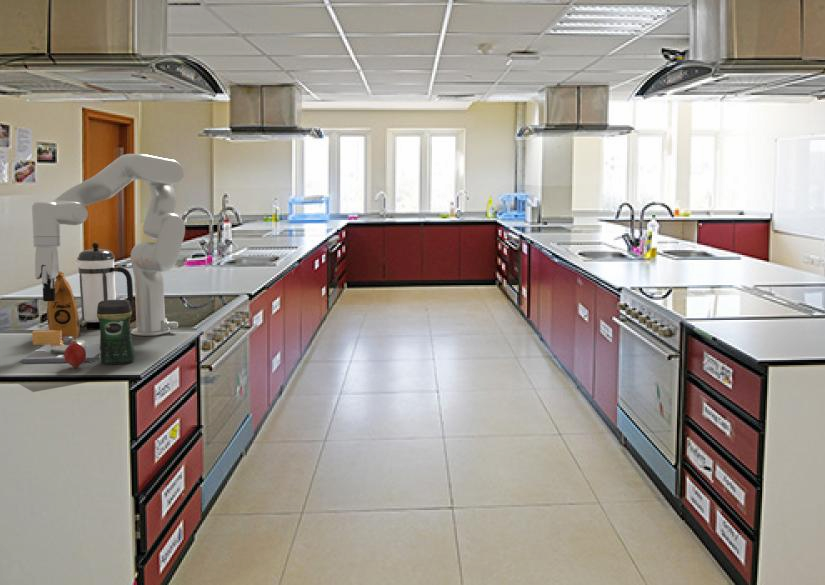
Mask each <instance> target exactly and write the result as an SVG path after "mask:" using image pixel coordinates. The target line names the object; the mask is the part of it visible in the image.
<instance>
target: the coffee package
mask: <svg viewBox="0 0 825 585" xmlns="http://www.w3.org/2000/svg"><path fill="white" fill-rule="evenodd" d="M46 319H47V326H48V330H62V339H63V337H65V336H73V338H75V339H78V337H79V334H80V332H81V330H80V325H79V322H80V319H79V312H78V306H77V302H76V299H75V296H74V294H73V291H72V287H71V285H70V282H69V281H68V280H67V279H66V278H65V273H64V272H62V271H60V270H59V274H58V276H57V277H55V301H47V306H46Z"/></svg>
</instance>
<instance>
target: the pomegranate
mask: <svg viewBox="0 0 825 585" xmlns="http://www.w3.org/2000/svg"><path fill="white" fill-rule="evenodd" d="M64 358H65V360H66V362H65V363H67V364H69V365H70V366H72V367H73V368H76V369H77V368H78V367H79V366H81V365H82V363H84V360H85V358H86V351H85V349H84V348H83V347H82V346H81V345H79V344H78V343H77V342H76V341H73V342H72V344H70V345H69V346H68V347H67V348H66V350H65V352H64Z"/></svg>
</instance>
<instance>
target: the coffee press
mask: <svg viewBox="0 0 825 585" xmlns="http://www.w3.org/2000/svg"><path fill="white" fill-rule="evenodd" d="M99 246H100V245H99V243H98V242H93V243H92V246H91V247H92V248H93V249H85V250H82V251H80V252H79V254H78V256H77V258H76V261H75V263H74V265H78V268H77V269H78V273H79V274H78V275H79V288H80V289H79V292H80V293H79V294H80V305H81V306H80V307H81V308H80V309H81V319H80V320H79V327H80V326H81V327H84V326H85V325H86V324H88V323H99V320H98V318H97V307H98V303H99V302H100V301H105V300H117V294H116V293H117V292H116V276H115V274H116V272H117V273H122V274H123V275H124V276H125V278H126V279H125V280H126V290H127V291H126V293H127V294H126V296H127V300H129V302H130V306H131V307H132V305H133V302H134V288H133V285H134V284H133V279H132V275H131V273H130V271H129V270H128V269H127V268H125V267H121V266H117V267H116V266H115V260H116V256H115V255H114V253H113V251H111V250H109V249H105V248H104V249H103V248H99ZM83 321H84V322H83ZM82 322H83V323H82Z"/></svg>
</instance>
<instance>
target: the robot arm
mask: <svg viewBox="0 0 825 585" xmlns="http://www.w3.org/2000/svg"><path fill="white" fill-rule="evenodd" d="M184 172H185V170H184V168H183V166H182V164H181V163H180V162H178V161H177V160H175V159H169V158H164V157H158V156H156V155H155V156H154V155H149V154H144V153H126V154H122V155H120V156H119V157H118V158H115V160H113V161H112V162H111V163H109V164H108V165H106V166H105V167H104V168H103V169H101V170H100V171H99V172H97V173H96V174H95V175H93V176H92V177H89V178H88V179H86V180H84V181H82V182H80V183H78V184H76V185H74V186H73V187H70V188H69V189H67V190H65V192H63V193H62V194H60V195H59V196H58V197H56V198H55V199H54V200H53V201H35V202H34V203H33V204H32V206H31V212H32V234H33V238H32V239H33V248H35V253H34V254H35V255H34V260H35V261H34V262H35V263H34V270H35V271H34V272H35V273H34V277H35V279H36V280H40V279H41V283H42V284H41V285H42V301H43V302H48V301H55V281H56V277H57V276H58V274H59V271H60V270H59V269H60V266H59V254H58V253H59V252H58V248H60V247H61V226H60V225H65V226H67V225H68V226H79V225H81V224H83V223H84V222H85V221H86V220H87V219H88V216H89V212H88V209H87V206H90V205H91V204H95V203H99V202H103V201H104V202H105V201H106V200H107V201H108V199H111V198H113V197H114V196H116V195H117V194H118V193H119V192H120V191H121V190H123V189H124V188H126V187H127V186H128V185H129V184H131V182H133V181H136V180H139V181H141V180H142V181H145V182H146V184H147V186H148V187H149V191H150V202H149V205H148V207H147V208H148V209H147V212H146V215H145V218H144V221H143V227H142V232H143V233H144V235H145V236H146V237H147V238H149V239H152V240H155V242H152V241H151V242H150V241H142V242H139V243H137V244H135V245H134V246H133V248H132V249H131V251H130V263H131V269H132V271H133V279H134V294H135V295H134V296H135V298H134V299H135V302H134V303H135V320H136V321H135V322H136V327H135V328H133V329H132V330H131V334H132V335H135V336H142V337H143V336H144V337H145V336H147V337H148V336H151V337H153V336H161V335H165V334H168V333H170V332H171V328H173V329H174V328H178V327H179V322H178V321H169V320H168V317H166V314H165V312H166V310H165V308H166V307H165V306H166V305H165V289H164V288H165V287H164V278H163V274H162V273H163V272H164V273H165V272H169V271H171V270H172V269H174V267H175V266H176V264H177V262H178V259H179V255H180V252H181V248H182V245H183V242H184V238H185V235H186V226H185V222H184V220H183V218H182V217H181V216H180V215H178V214H176V213H175V208H176V205H177V193H176V191H175V188H174V186H175V185H177V184H179V183H180V182H182V181H183V178H184V174H185V173H184Z"/></svg>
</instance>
